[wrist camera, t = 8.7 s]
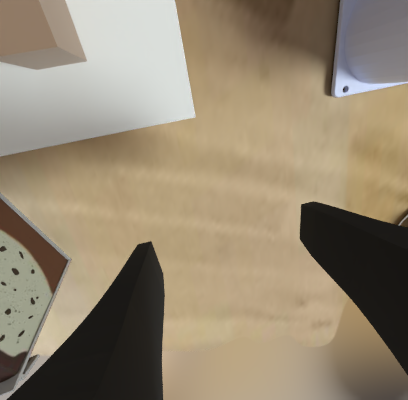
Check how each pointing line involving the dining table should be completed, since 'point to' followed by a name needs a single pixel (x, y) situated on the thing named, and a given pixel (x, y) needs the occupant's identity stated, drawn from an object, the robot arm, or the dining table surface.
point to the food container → (24, 290)
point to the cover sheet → (88, 70)
